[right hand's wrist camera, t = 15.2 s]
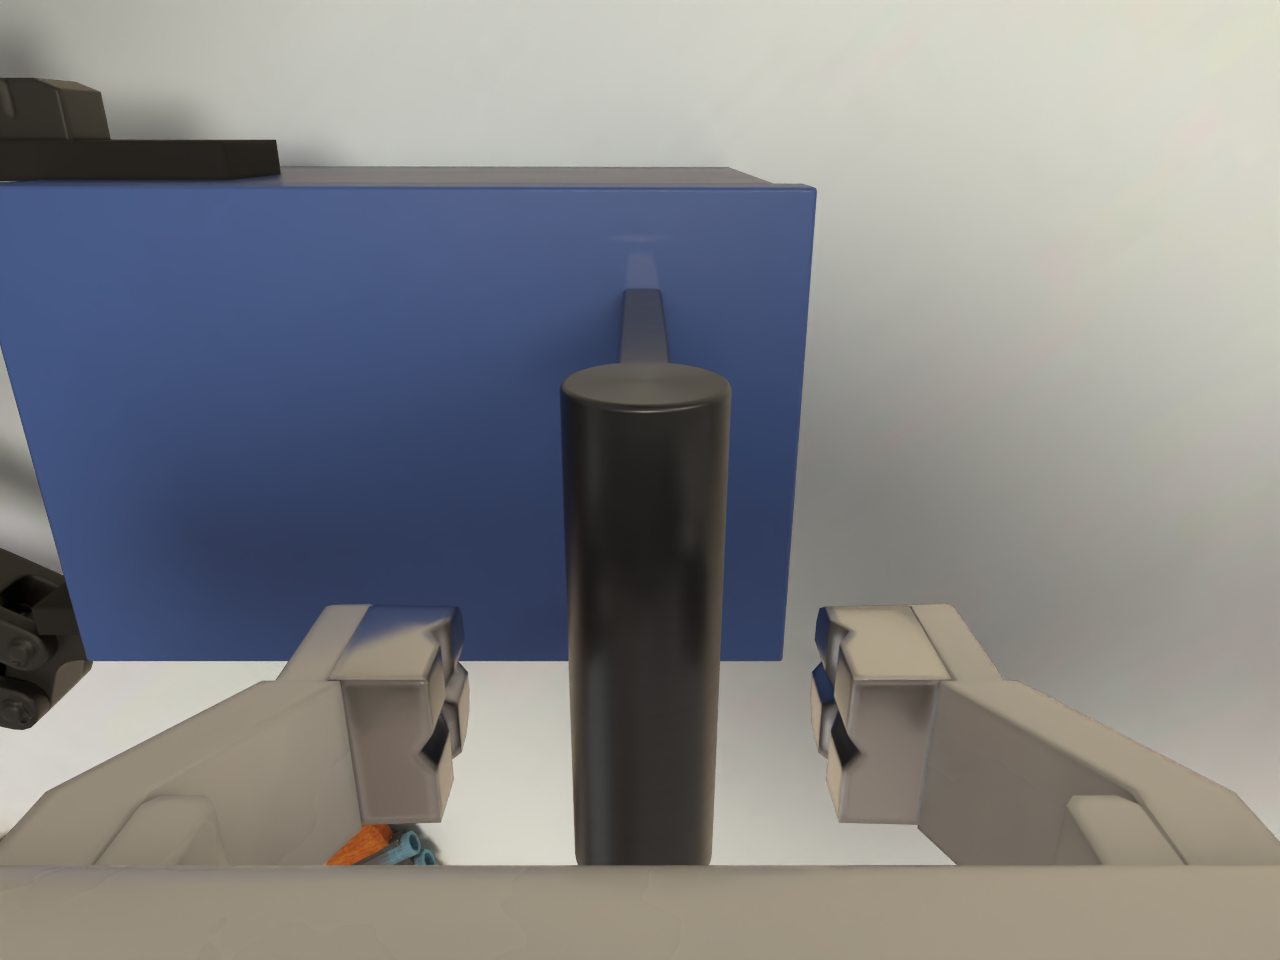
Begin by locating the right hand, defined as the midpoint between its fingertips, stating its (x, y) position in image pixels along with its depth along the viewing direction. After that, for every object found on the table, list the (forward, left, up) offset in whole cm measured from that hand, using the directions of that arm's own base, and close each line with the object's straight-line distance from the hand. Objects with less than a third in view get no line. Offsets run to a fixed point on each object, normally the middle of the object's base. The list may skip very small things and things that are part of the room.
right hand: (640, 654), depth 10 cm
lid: (+2, +4, -9) cm, 10 cm away
